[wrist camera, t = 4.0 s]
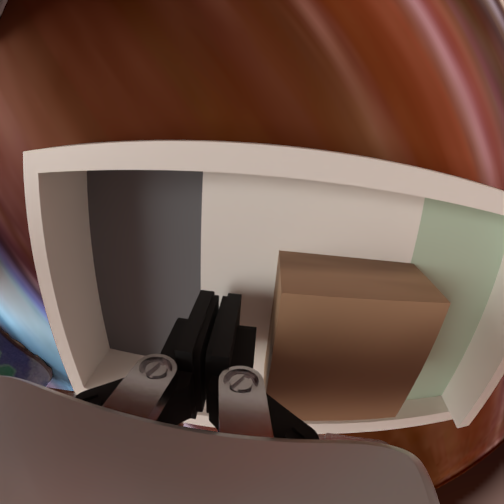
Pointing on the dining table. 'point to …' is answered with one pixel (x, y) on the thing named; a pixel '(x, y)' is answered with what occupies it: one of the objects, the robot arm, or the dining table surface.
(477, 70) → the dining table surface
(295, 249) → the box
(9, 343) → the flask
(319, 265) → the walnut block
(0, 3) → the coffee box
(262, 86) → the dining table surface
